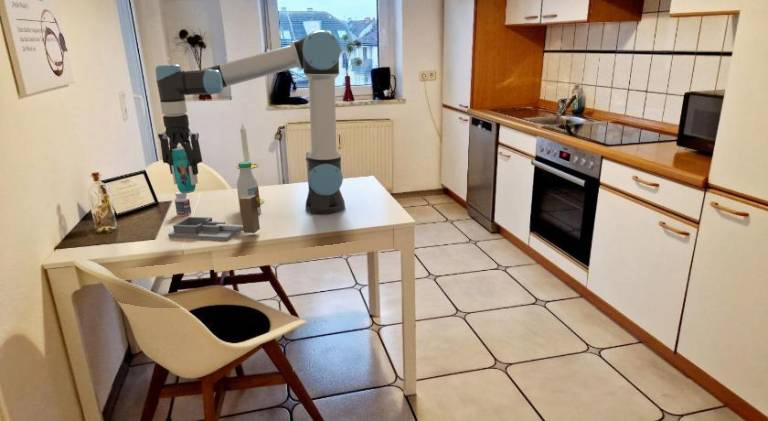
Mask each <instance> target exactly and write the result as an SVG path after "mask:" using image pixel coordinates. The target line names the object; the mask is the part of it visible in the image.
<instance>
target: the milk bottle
mask: <svg viewBox="0 0 768 421" xmlns="http://www.w3.org/2000/svg"><path fill="white" fill-rule="evenodd" d="M251 164H252V162H251V161H250V162H248V161H246V162H244V161H241V162H238V165H237V166H239V169H238V170H239V174H238V178H237V181H236V182H237V183H236V190H237V197H238V198H237V199H238V206H239V213H240V214H241V209H240V201H239V198H241V197H242V196H244V195H256V201H257V209H258V215H260V214H261V213H262V208H261V204H260V199H261V198H260V190H259V184H258V181H257V178H256V176H255V175H254V173H253V171H252V169H251V168H252V167H251Z"/></svg>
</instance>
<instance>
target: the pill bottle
mask: <svg viewBox="0 0 768 421" xmlns="http://www.w3.org/2000/svg"><path fill="white" fill-rule="evenodd" d="M174 194H175V198H174V205H175V211H176V215H177V216H178V217H188V216H189V215H191V214H192V207H191V201H190V197H189V196H188V193H181V192H180V191H179V190H178V191H176V192H175V193H174Z"/></svg>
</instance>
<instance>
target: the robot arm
mask: <svg viewBox="0 0 768 421" xmlns="http://www.w3.org/2000/svg"><path fill="white" fill-rule="evenodd" d="M340 56H341V46H340V43H339V40H338V39H337V37H336V36H334V35H333V34H332V33H330V32H329V31H327V30H321V29H319V30H315V31H312V32H310V33H308V35H305V36H304V37H302V38H299V39H296V40H293V41H292V42H291V43H290V45H287V46H283V47H279V48H275V49H271V50H268V51H265V52H261V53H258V54H254V55H250V56H246V57H243V58H239V59H235V60H232V61H229V62H224V63H222V64H218V65H214V66H210V67H205V68H202V69H198V70H182V69H181V66H180V65H179V64H160V65H156V67H155V70H154V71H155V78H156V79H155V81H156V84H157V91H158V96H159V100H160V102H159V103H160V109H161V114H162V115H163V117H162V121H163V126H164V128H165V131H164V132H161V133H158V134H157V137H158V138H159V142H160V149H161V157H162V162H163V164H167V165H168V166H169V171H170V174H171V175H172V179H173V183H174V185H177V181H176V175H175V169H174V163H173V157H172V151H173V150H172V149H174V148H177V147H178V145H179V144H180V147H183V148H184V149H185V152H186V155H187V157H188V160H189V162H190V166H189V172H190V178H191V185H196V184H199V180H198V174H199V166H198V164H200V163H203V156H202V152H201V147H200V142H199V137H200V135H199V132H192V131H191V129H190V128H189V126H190V121H189V116H188V114H187V112H188V109H187V103H186V96H190V95H194V96H195V95H210V96H211V95H216V94H221V93H222V92H223V89H224V88H227V87H230V86H234V85H237V84H240V83H245V82H248V81H252V80H255V79H259V78H263V77H267V76H270V75H273V74H278V73H280V72H285V71H289V70H291V69H295V68H296V69H297V68H298V69H300V70H303V75H304V77H306V78H307V79H308V92H309V93H308V94H309V118H310V124H309V125H310V148H311V150H309V151H307V152H306V154H305V161H306V162H305V163H306V172H307V185H308V191H307V192H308V193H307V197H306V201H305V211H306V213H309V214H312V215H320V216H321V215H331V214H337V213H340V212H342V211H344V210H345V208H346V204H345V203H346V202H345V199H344V197H343V194H342V192H341V189H340V188H341V186H342V185H343V181H344V176H343V172H342V154H341V153H340V152H339V151H338V150H337V126H336V125H337V122H336V121H337V120H336V118H337V116H336V78H337V77H338V76H340Z"/></svg>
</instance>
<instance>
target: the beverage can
mask: <svg viewBox="0 0 768 421" xmlns="http://www.w3.org/2000/svg"><path fill="white" fill-rule="evenodd" d="M172 150H173V151H172V157H173V163H174V169H175V175H176V181H177V184H176V186H177V190H178V191H180V192H181V193H187V194H189V193H193V192H195V190H196V184H195V185H191V178H190V172H189V166H190V162H189V160H188V157H187V155H186V152H185V149H184V148H183V147H182V146H177V148H174V149H172Z"/></svg>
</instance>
